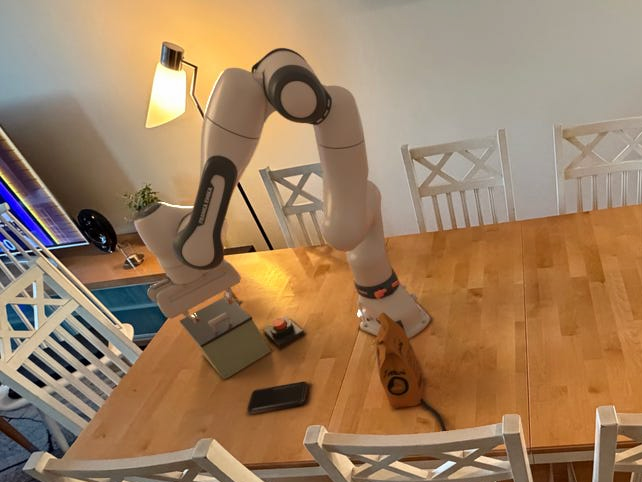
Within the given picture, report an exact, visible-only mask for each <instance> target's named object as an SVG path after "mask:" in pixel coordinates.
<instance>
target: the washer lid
mask: <svg viewBox="0 0 642 482" xmlns="http://www.w3.org/2000/svg"><path fill="white" fill-rule="evenodd" d="M225 297H226V296H225ZM233 301H234V300H233ZM190 314H191V315H193V314H196V315H197V316H198V317H199V319H200V320H201V321H199V322H197V323H194V321H193V320H192V319H190V318H188V317H186V316H185V317H184V318H182V319H179V323H180V324H181V326H182V327H183V326H184V327H185V328H184V327H183V328H184V330H185V329H186V330H187V331H188V332H189V333H190V334H191V336H192V337H193V338H194V339H195V340H196V341H197V343H198V344H199V345H200V346H201V347H204V346H206V345H208V344H209V343H211V342H213V341H215V340H216V339H218V338H220V337H222V336H224V335H225V334H227V333H229V332H231V331H232V330H234V329H236V328H238V327H239V326H241V325H243V324H245V323H247V322H248V321H250V320H252V319H253V317H252V316H251V315H250V313H248V312H247V311H246V310H245V309H244V308H243V307H242V306H241V305H240V306H239V305H238V304H237V303H236V302H235V301H234V303H232V304H230V305H229V304H228V303H227V302H226V300H225V299H224V296H223V297H222V298H219V299H218V300H215V301H213V302H212V303H210V304H208V305H207V306H206V305H205V306H204V307H202V308H201V309H199V310H197V311H195V312H193V313H190ZM186 330H185V331H186ZM187 331H186V332H187ZM188 332H187V333H188Z"/></svg>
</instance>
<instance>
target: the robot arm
mask: <svg viewBox="0 0 642 482" xmlns="http://www.w3.org/2000/svg"><path fill="white" fill-rule="evenodd" d="M275 112H277V113H278V115H280V116H281V117H283V118H284V119H286V120H288V121H290V122H292V123H297V124H307V125H311V126H312V127H313V130H314V137H315V143H316V147H317V151H318V157H319V163H320V167H321V176H322V212H323V213H322V222H321V228H320V230H321V231H320V233H321V236H322V238H323V241H324V242H325V243H326V244H327V245H328V246H329V247H330V248H332V249H333V250H335V251H336V252H337V251H338V252H341V253H345V254H346V261H347V263H348V266H349V269H350V272H351V274H352V277H353V283H354V284H353V285H354V288H355V290H356V292H357V294H358V298H357V303H356V304H357V308H358V311H357V317H358V318H360V319H361V321H360V324H359V328H360V330H362V331H364V332H366V333H368V334H371V335H373V336H376V337H377V335H378V332H379V329H380V327H381V323H380V321H379V318H378V317H379V315H380V314H381V313H385V314H386V315H387V316H389V317H390V318H391V319H392V320H394V321H395V322H396V323H397V324H399V325H400V326H401V327H402V328H403V330H404V331H405V333H406V335H407V337H408V339H409V340H410V339H411V338H413V337H414V336H416V335H417V334H419V333H420V332H422V331H423V330H424V329H426V327H427V326H428V325H429V324H430V322H431V317H430V315H429V314H428V313H427V312H426V311H425V310H424V309H423V307H421V306H420V305H419V304H418V303H417V302H416V301H417V300H418V297H417V295H416V294H415V293H414V292H412V293H409V291H408V288H407V285H402V283H401V282H400V280H399V278H398V275H397V273H396V271H395V270H394V269H393V267H392V265H391V262H390V258H389V255H388V251H387V246H386V242H385V232H384V223H383V214H382V194H381V190H380V189H379V187H378V186H377V185H376V184H375V183H374V182H372V181H371V180H369V179H368V178H369V172H370V171H369V162H368V156H367V155H368V153H367V146H366V140H365V133H364V127H363V121H362V118H361V114H360V111H359V107H358V103H357V101H356V98H355V96H354V95H353V93H352V92H351V91H350V90H349V89H347V88H346V87H343V86H339V85H335V84H334V85H325V84H322V82H321V80H320V79H319V77H318V75H317V74H316V73H315V70H314V69H313V68H312V66H311V65H310V64H309V63H308V62H307V60H306V59H305V58H304V57H303V56H302V55H301V54H300V53H298V52H297V51H295V50H293V49H291V48H286V47H278V48H274V49H272V50H271V51H269V52H268V53H266V54H265V55H264V56H263V57H262V58H260V60H258V61H257V62H256V63H255V64H253V65H252V67H251V71H249V70H246V69H243V68H241V67H240V68H239V67H227V68H225V69H223V70H222V71H221V72H220V74H219V76H218V78H217V80H216V81H215V83H214V85H213V88H212V90H211V93H210V95H209V98H208V101H207V104H206V108H205V111H204V114H203V120H202V125H201V133H200V168H199V169H200V173H199V183H198V188H197V192H196V196H195V200H194V203H193V206H191V205H190V206H185V205H184V206H181V205H173V204H169V203H167V202H164V201H154V202H151V203H149V204H147V205H145V206H143V207H142V208H141V209H140V210H139V211H137V213H136V215H135V217H134V219H133V224H134V227H135V229H136V231H137V233H138V235H139V236H140V239H141V240H142V242H143V243H144V245H145V247H146V248H147V249H148V250H149V252H150V253H151V254H153V255H154V256H155V258H156V260H157V262H158V265H159V267H160V268H161V269H162V271H163V272H164V274H165V275H166V276H167V277H164V278H162V279H161V280H159V281H157V282H156V283H153V284H151V285H150V286H149V288H148V289H147V292H146V293H147V296H148V298H149V299H150V301H152V302H153V303H156V305H157V306H158V308H159V309H160V311H161V313H162V314H163V315H164V316H165V318H168V319H174V318H176V317H179V316H181V315H183V316H184V317H185V318H186V317H188V318H190V319H192V320H193V321H194V323H197V322H199V321H201V320H200V319H199V317H198V316H197V315H196V314H193V313H190V310H191V309H193V308H195V307H197V306H198V305H201V304H203V303H204V302H206V301H208V300H210V299H212V298H214V297H215V296H217V295H220V294H221V293H224V292H225V291H226V297H224V296H223V297H224V299H225V300H226V302H227V303H228V304H229V305H230V304H232V303H234V301H233V299H232V298H231V297H232V292H233V289H232V287H234V286H237V285H238V284H241V282H242V281H241V280H242V277H241V275H240V273H239V272H238V271H237V269H236V268H235V267H234V266H233V264H232V263H230V262H229V261H228V260H227V259H226V258H225V246H226V239H227V234H228V226H229V225H228V220H227V219H226V217H227V213H228V209H229V206H230V204H231V203H230V202H231V199H232V197H233V194H234V192H235V189H236V188H237V186H238V185H239V182H240V180H241V178H242V177H243V174H245V171H246V170H247V168H248V167H249V165H250V163H251V161H252V160H253V157H254V156H255V153H256V150H257V148H258V146H259V143H260V141H261V137H262V134H263V130H264V126H265V124H266V122H267V120H268V118H269V117H270V115H272V114H274V113H275ZM191 314H193V315H191ZM420 402H421V403H420V404H421V405H422V406H423V407H424V408H425V409H427V411H429V412H430V413H432V414H433V415H434V417H435V418H436V419H437V421H438V422H439V425H440V428H441V431H442V432H443V431H447V428H446V425H445V422H444V420H443V418H442V417H441V415H440V414H439V412H438V411H437V410H436V409H434V408H433V407H432V406H431V405H429V404H428V403H427V402H426V401H425V400H424V398H423V397H422V398H421V400H420Z"/></svg>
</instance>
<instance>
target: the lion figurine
mask: <svg viewBox="0 0 642 482" xmlns="http://www.w3.org/2000/svg"><path fill="white" fill-rule="evenodd" d="M222 296H223V297H225V296H226V291H223V294H222ZM231 298H232V299H233V300H234V301H235V302H236V303H237V304H238V305H239V306H240V307H241V305H240V304H241V300H239V297H237V295H236V294H235V293H234V291H232V297H231Z"/></svg>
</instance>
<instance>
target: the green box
mask: <svg viewBox="0 0 642 482" xmlns="http://www.w3.org/2000/svg"><path fill="white" fill-rule="evenodd" d="M182 327H183V328H184V330H185V331H186V332H187V334H188V335H189V337H190V338H191V339H192V342H194V344H195V346H197V348H198V349H199V351H200V352H201V354H202V355H203V356H204V358H205V359H206V360H207V361H208V362H209V364H210V365H211V366H212V367H213V368H214V369H215V371H216V372H217V374H219V376H220V377H221V378H222V379H223V380H227V379H228V378H229V377H231V376H233V375H235V374H236V373H238V372H239V371H241V370H243V369H245V368H247V367H248V366H249V365H251V364H253V363H254V362H256V361H258V360H260V359H261V358H264V357H265V356H266V355H268V354H269V353H271V352H272V351H271V348H270V347H269V346H268V344H267V342H266V340H265V339H264V336H263V335H262V333H261V331H260V330H259V328H258V327H257V324H256V323H255V321H254V319H253V318H252V320H250V321H248V322H247V323H245V324H243V325H241V326H239V327H238V328H236V329H234V330H232V331H231V332H229V333H227V334H225V335H224V336H222V337H220V338H218V339H216V340H215V341H213V342H211V343H209V344H208V345H206V346H204V347H201V346H200V345H199V344H198V343H197V341H196V340H195V339H194V338H193V337H192V336H191V334H190V333H189V332H188V331H187V330H186V329H185V327H184V326H183V325H182Z"/></svg>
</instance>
